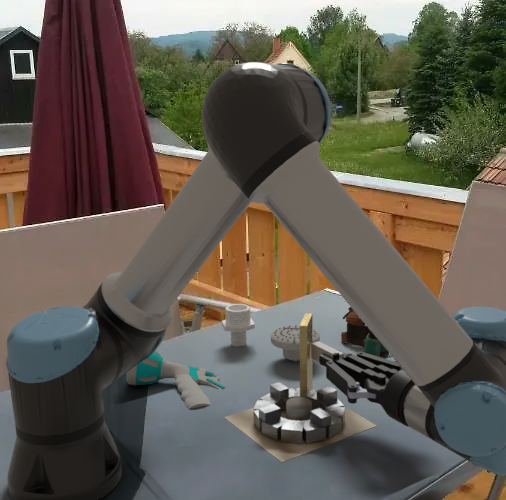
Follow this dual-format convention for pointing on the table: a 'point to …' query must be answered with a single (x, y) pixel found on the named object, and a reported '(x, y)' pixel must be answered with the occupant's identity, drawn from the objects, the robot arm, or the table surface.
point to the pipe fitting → (238, 323)
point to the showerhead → (290, 341)
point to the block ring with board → (323, 401)
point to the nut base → (295, 447)
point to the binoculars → (374, 346)
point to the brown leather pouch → (354, 329)
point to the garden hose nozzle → (184, 376)
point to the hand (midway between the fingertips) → (314, 349)
